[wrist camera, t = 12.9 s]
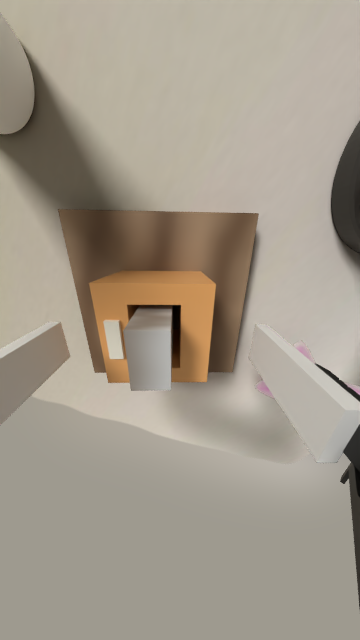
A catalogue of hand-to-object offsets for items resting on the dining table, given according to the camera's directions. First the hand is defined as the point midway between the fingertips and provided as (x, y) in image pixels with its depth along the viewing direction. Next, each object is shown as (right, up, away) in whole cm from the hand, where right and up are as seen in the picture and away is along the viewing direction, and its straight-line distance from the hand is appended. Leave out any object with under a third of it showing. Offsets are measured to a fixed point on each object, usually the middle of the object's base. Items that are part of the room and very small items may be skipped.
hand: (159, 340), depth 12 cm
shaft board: (-1, +4, +9) cm, 10 cm away
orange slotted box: (0, +3, +7) cm, 8 cm away
